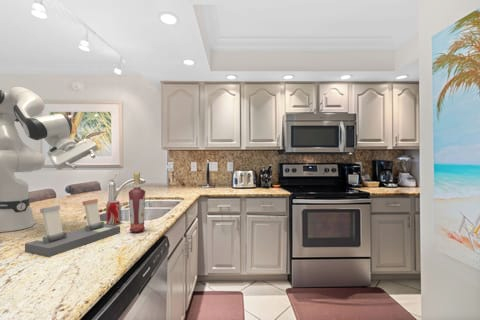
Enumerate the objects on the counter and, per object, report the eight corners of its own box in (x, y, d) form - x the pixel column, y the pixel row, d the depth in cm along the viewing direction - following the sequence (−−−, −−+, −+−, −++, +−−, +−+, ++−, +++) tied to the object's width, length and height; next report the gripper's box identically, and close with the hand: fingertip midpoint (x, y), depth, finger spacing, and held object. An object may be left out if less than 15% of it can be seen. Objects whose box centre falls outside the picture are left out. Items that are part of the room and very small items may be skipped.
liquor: (144, 233, 117) (144, 172, 117) (127, 234, 116) (127, 173, 116) (146, 228, 125) (146, 172, 124) (130, 229, 123) (130, 172, 123)
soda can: (114, 226, 130) (114, 202, 130) (103, 225, 131) (102, 202, 131) (123, 222, 137) (123, 200, 137) (112, 222, 138) (112, 200, 138)
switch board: (24, 251, 95) (24, 237, 95) (98, 229, 123) (98, 218, 123) (49, 256, 89) (48, 241, 89) (120, 232, 118) (120, 221, 118)
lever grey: (45, 242, 96) (39, 209, 97) (61, 237, 101) (56, 206, 102) (49, 241, 95) (43, 208, 96) (65, 236, 100) (59, 205, 101)
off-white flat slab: (87, 230, 111) (81, 202, 113) (99, 227, 117) (94, 199, 118) (91, 229, 111) (85, 200, 112) (103, 226, 116) (97, 198, 117)
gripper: (89, 142, 133) (106, 155, 129) (48, 162, 120) (65, 178, 116) (86, 133, 128) (103, 146, 124) (43, 153, 116) (60, 169, 111)
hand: (84, 162), depth 120 cm, fingers open, 8 cm apart
